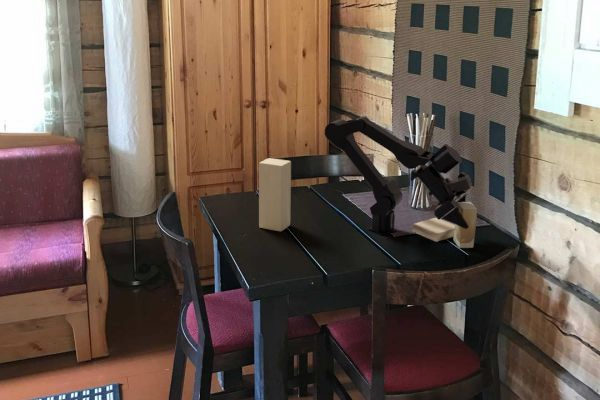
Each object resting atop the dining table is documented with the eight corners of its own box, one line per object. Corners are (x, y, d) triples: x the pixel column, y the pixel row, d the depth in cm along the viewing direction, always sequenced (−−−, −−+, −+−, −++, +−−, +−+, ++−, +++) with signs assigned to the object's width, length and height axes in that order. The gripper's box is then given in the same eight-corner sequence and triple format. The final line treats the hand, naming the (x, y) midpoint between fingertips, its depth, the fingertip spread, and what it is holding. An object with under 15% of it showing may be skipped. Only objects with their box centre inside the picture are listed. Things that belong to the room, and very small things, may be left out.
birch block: (436, 243, 204) (436, 233, 203) (412, 233, 212) (413, 223, 211) (459, 235, 209) (460, 226, 208) (435, 226, 217) (436, 217, 216)
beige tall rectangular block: (292, 224, 217) (292, 160, 210) (281, 231, 211) (281, 165, 204) (269, 220, 220) (269, 157, 214) (258, 227, 214) (257, 162, 207)
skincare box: (452, 240, 205) (456, 201, 201) (467, 239, 205) (470, 201, 201) (459, 248, 199) (462, 208, 195) (474, 248, 199) (477, 208, 195)
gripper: (448, 174, 188) (486, 218, 187) (463, 158, 204) (497, 198, 203) (418, 197, 194) (455, 240, 193) (435, 180, 210) (468, 219, 209)
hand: (470, 223), depth 199 cm, fingers closed on skincare box, 7 cm apart
